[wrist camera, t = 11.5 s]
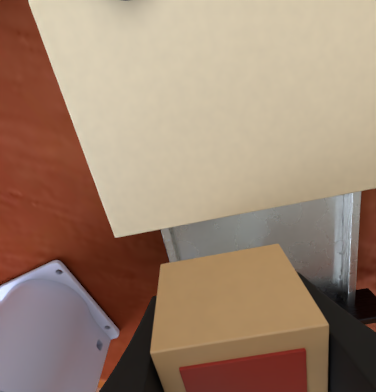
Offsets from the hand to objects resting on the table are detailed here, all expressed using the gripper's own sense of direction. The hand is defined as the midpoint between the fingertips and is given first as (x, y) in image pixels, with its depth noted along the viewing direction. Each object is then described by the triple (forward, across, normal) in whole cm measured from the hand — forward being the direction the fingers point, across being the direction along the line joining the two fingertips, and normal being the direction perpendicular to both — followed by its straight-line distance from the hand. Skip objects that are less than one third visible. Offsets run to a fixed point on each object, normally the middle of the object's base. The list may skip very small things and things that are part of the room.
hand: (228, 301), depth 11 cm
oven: (+9, -3, -9) cm, 13 cm away
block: (0, 0, +1) cm, 1 cm away
